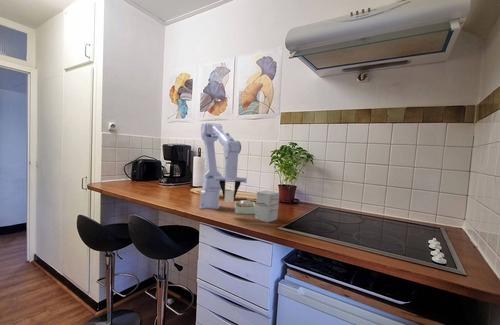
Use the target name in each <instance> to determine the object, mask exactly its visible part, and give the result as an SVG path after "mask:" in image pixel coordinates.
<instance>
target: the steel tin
mask: <svg viewBox="0 0 500 325" xmlns="http://www.w3.org/2000/svg"><path fill="white" fill-rule="evenodd" d="M239 202H240V203H239V207H251V202H252V201H251V200H248V199H243V200H242V199H241V200H239Z"/></svg>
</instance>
